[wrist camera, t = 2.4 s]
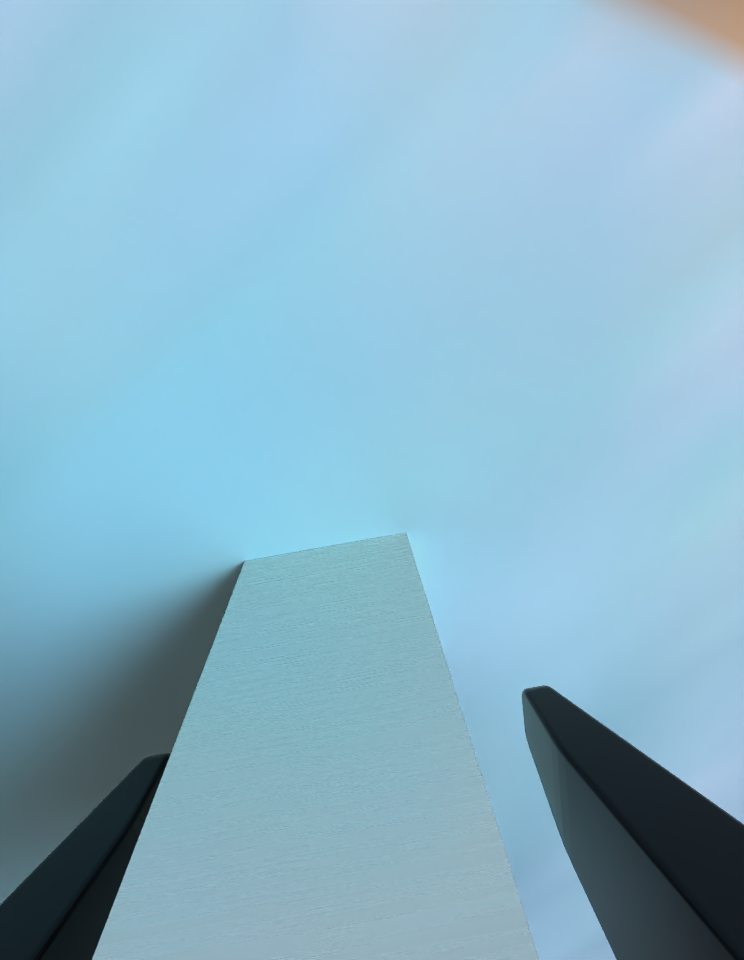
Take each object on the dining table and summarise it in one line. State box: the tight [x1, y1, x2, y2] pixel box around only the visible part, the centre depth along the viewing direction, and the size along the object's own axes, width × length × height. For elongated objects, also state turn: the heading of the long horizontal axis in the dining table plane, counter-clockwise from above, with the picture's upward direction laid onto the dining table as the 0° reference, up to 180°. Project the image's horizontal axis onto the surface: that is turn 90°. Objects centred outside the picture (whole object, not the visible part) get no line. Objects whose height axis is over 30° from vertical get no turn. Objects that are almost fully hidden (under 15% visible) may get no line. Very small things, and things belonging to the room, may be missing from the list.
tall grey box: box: [92, 533, 539, 960], centre depth 7 cm, size 5×3×8 cm, turn 9°
